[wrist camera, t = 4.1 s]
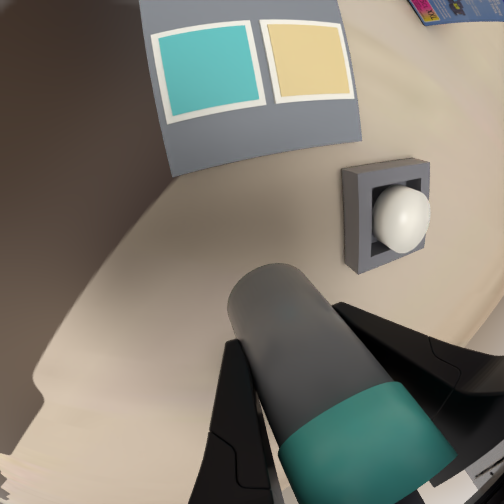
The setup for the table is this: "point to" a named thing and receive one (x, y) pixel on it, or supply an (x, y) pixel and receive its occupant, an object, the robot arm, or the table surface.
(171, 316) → the table surface
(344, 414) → the marker
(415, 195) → the button
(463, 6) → the ink cartridge box
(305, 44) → the picture board
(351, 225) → the button housing
